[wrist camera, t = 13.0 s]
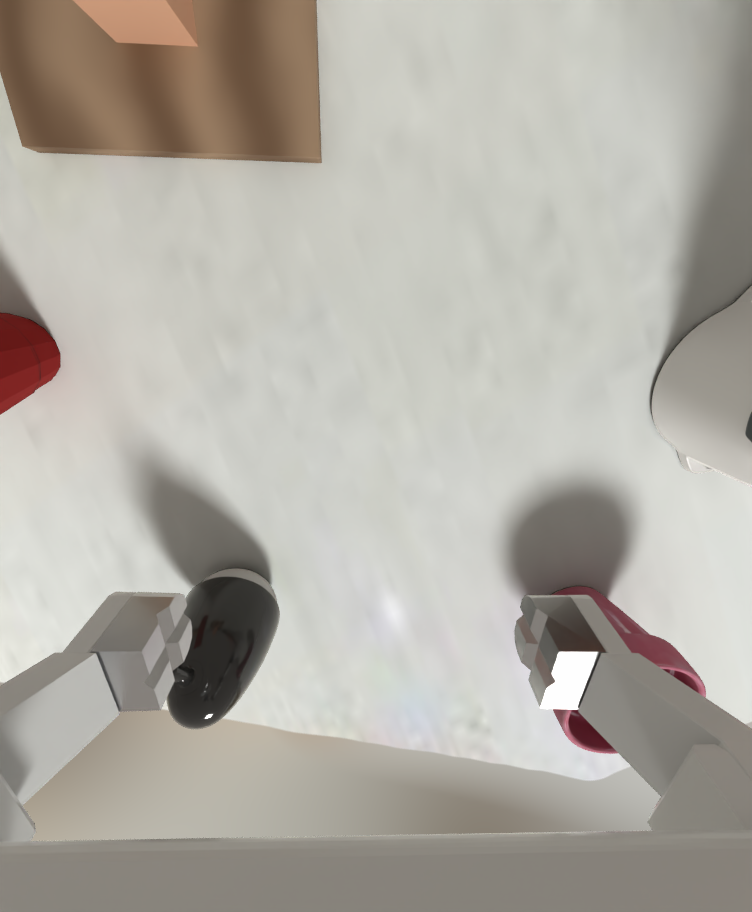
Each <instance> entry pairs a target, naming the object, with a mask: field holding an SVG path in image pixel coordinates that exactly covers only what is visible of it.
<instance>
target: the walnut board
mask: <svg viewBox="0 0 752 912" xmlns="http://www.w3.org/2000/svg"><path fill="white" fill-rule="evenodd" d="M192 3H193V11H194V18H195V26H196V34H197V42H198V47H196V46H177V45H157V44H138V43H118V42H116V41H115V40H114V39H112V38H111V37H110V36H109V35H108V34H107V33H106V32H105V31H104V30H103V29H102V28H101V27H100V26H99V25H98V24H97V23H96V22H95V21H94V20H93V19H92V18H91V17H90V16H89V15H88V14H87V13H86V12H84V11H83V10H82V9H81V8H80V7H79V6H78V5H77V4H76V3H75V2H74V1H73V0H0V73H1V76H2V79H3V83H4V86H5V89H6V93H7V96H8V99H9V103H10V106H11V110H12V113H13V116H14V120H15V123H16V126H17V130H18V133H19V136H20V140H21V143H22V146H23V147H26V148H29V149H31V150H34V151H36V152H40V153H66V154H93V155H120V156H147V157H173V158H200V159H227V160H254V161H280V162H307V163H321V131H320V100H319V69H318V37H317V6H316V0H192Z"/></svg>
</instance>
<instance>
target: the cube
mask: <svg viewBox="0 0 752 912" xmlns="http://www.w3.org/2000/svg"><path fill="white" fill-rule="evenodd" d="M73 1H74V2H75V3H76V4H77V5H78V6H79V7H80V8H81V9H82V10H83V11H84V12H86V13H87V14H88V15H89V16H90V17H91V18H92V19H93V20H94V21H95V22H96V23H97V24H98V25H99V26H100V27H101V28H102V29H103V30H104V31H105V32H106V33H107V34H108V35H109V36H110V37H111V38H112V39H114V40H115V41H116V42H118V43H138V44H157V45H177V46H196V47H198V42H197V34H196V26H195V18H194V11H193V3H192V0H73Z"/></svg>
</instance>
